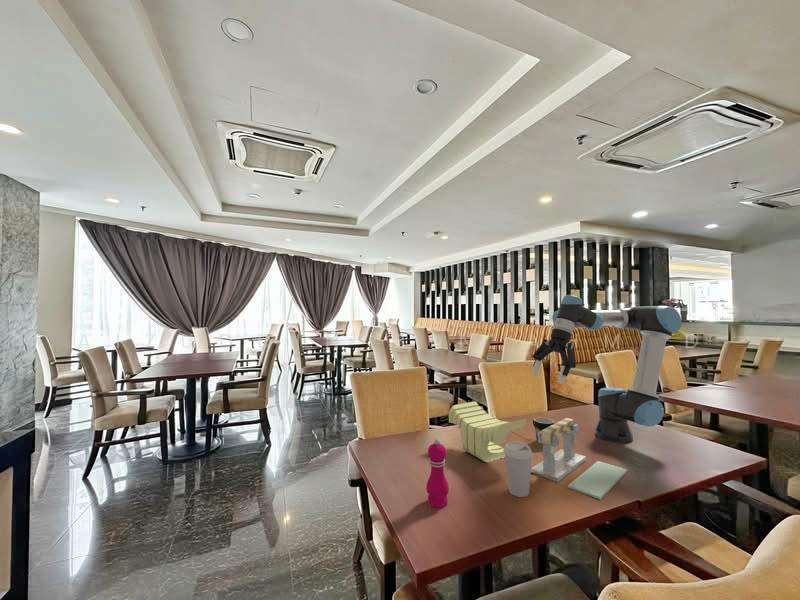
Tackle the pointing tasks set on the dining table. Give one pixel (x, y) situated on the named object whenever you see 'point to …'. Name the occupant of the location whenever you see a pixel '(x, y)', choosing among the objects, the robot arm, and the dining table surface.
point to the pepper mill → (437, 476)
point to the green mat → (598, 479)
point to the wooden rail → (557, 429)
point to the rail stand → (558, 457)
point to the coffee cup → (518, 468)
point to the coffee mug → (541, 424)
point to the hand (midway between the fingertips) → (546, 379)
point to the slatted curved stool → (481, 430)
